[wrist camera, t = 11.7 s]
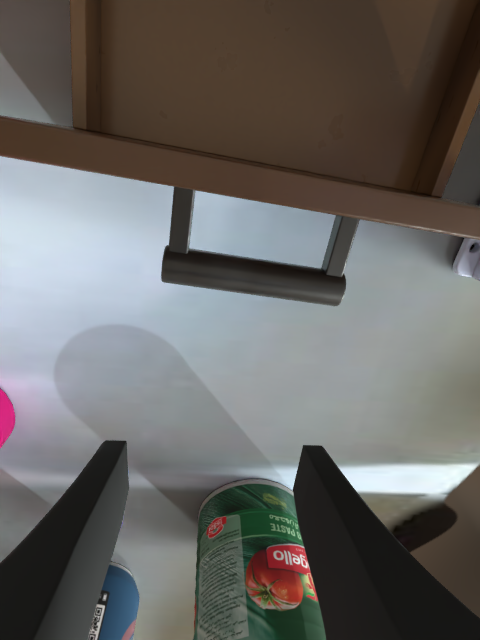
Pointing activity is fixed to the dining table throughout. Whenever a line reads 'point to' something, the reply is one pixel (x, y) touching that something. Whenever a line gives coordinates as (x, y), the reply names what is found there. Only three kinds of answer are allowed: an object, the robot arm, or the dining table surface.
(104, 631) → the soda can
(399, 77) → the drawer
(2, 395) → the pepper mill
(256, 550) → the canned tomato
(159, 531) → the dining table surface
